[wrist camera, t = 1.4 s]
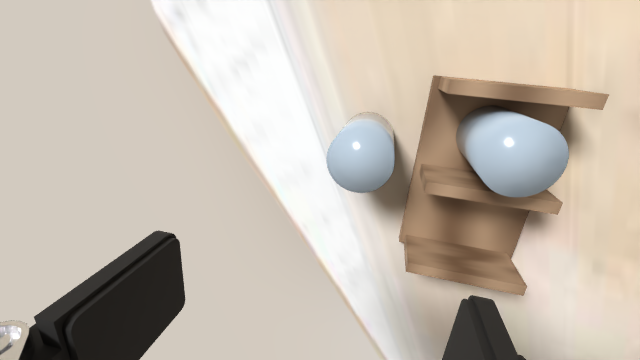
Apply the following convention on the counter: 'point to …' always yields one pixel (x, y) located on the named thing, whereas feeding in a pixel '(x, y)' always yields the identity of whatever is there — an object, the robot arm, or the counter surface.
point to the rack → (474, 186)
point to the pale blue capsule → (512, 150)
